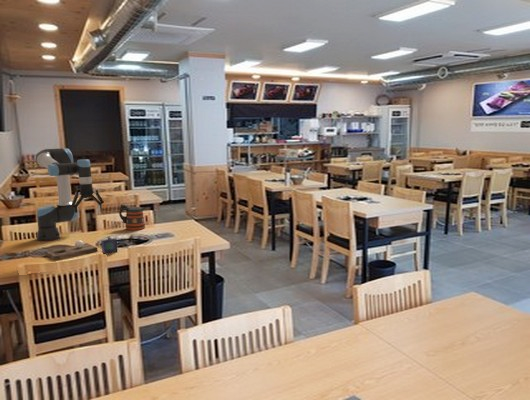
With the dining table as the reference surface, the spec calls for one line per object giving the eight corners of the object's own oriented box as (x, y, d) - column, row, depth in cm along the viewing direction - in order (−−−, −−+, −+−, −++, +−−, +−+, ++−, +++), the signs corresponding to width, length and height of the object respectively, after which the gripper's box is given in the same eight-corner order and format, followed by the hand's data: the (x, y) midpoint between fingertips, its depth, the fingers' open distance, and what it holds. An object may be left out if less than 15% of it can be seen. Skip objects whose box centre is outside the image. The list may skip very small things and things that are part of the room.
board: (45, 255, 258) (45, 251, 257) (87, 246, 276) (86, 243, 276) (55, 260, 247) (54, 256, 246) (97, 251, 265) (97, 247, 265)
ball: (74, 247, 265) (73, 240, 264) (81, 246, 268) (81, 238, 267) (77, 249, 261) (76, 241, 260) (85, 247, 265) (84, 240, 264)
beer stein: (119, 231, 317) (118, 206, 314) (120, 227, 331) (118, 203, 328) (145, 229, 323) (143, 204, 319) (145, 225, 336) (143, 201, 333)
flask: (102, 254, 259) (101, 237, 257) (101, 253, 261) (100, 236, 260) (117, 252, 263) (116, 236, 261) (117, 251, 265) (116, 235, 264)
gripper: (67, 185, 253) (70, 219, 255) (107, 181, 270) (110, 213, 272) (63, 185, 258) (66, 218, 261) (102, 181, 275) (105, 212, 278)
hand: (89, 216), depth 267 cm, fingers open, 13 cm apart
